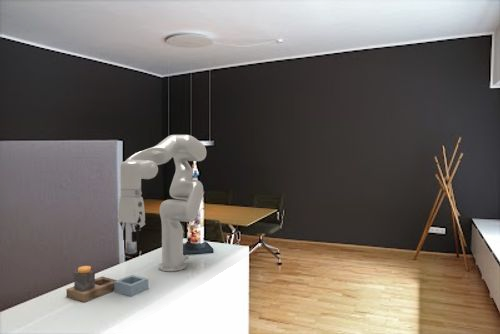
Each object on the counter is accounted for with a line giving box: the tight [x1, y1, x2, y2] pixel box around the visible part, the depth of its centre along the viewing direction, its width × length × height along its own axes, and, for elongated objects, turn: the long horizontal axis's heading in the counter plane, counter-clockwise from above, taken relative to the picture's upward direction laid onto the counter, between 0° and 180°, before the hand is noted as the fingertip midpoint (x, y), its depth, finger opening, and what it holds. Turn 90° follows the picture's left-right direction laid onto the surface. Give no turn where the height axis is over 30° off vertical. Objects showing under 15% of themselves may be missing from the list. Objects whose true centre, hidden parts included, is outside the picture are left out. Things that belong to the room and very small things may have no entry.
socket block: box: [65, 270, 118, 303], centre depth 146 cm, size 16×10×9 cm, turn 150°
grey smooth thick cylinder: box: [125, 222, 138, 255], centre depth 147 cm, size 4×4×12 cm
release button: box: [77, 265, 92, 274], centre depth 142 cm, size 4×4×8 cm
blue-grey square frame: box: [113, 274, 149, 297], centre depth 149 cm, size 9×9×4 cm
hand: (131, 240), depth 148 cm, fingers closed on grey smooth thick cylinder, 4 cm apart
